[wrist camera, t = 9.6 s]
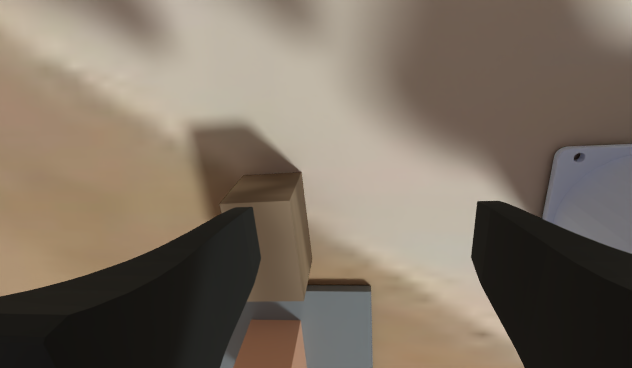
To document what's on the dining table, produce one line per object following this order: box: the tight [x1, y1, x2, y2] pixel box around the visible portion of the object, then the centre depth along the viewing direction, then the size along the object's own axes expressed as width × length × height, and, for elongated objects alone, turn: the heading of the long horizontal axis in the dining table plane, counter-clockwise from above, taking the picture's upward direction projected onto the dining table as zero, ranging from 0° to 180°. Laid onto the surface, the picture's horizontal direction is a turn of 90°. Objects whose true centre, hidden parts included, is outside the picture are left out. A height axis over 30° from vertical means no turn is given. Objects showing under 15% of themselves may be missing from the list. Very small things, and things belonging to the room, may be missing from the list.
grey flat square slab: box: [220, 285, 373, 368], centre depth 25 cm, size 13×12×1 cm
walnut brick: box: [219, 172, 312, 302], centre depth 19 cm, size 4×6×4 cm, turn 6°
